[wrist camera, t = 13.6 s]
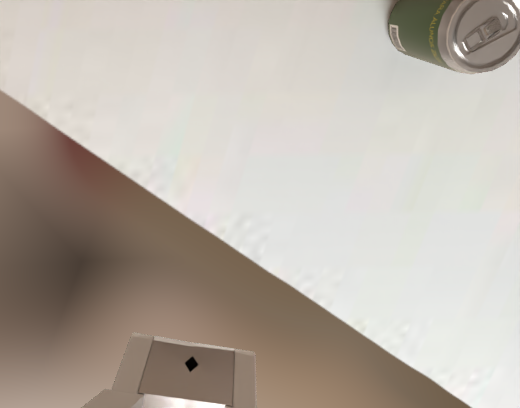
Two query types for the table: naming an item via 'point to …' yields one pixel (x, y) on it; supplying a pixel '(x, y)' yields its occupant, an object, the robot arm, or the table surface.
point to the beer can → (457, 32)
